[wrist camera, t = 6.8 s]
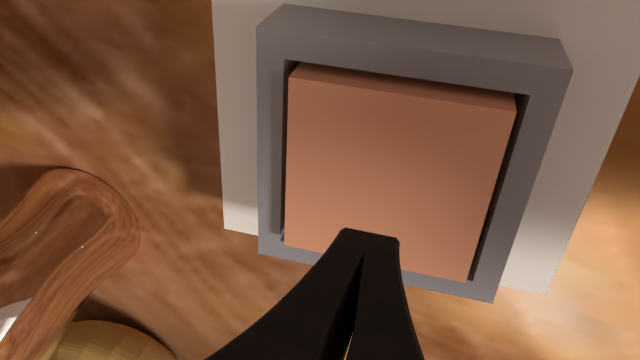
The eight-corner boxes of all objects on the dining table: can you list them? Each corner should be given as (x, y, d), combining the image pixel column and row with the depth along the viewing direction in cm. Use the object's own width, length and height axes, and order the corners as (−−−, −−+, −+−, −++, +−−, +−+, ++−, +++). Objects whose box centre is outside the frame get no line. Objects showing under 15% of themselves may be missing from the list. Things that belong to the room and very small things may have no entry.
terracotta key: (509, 69, 15) (516, 111, 13) (466, 226, 19) (465, 283, 16) (315, 42, 16) (288, 77, 14) (307, 195, 20) (283, 244, 17)
